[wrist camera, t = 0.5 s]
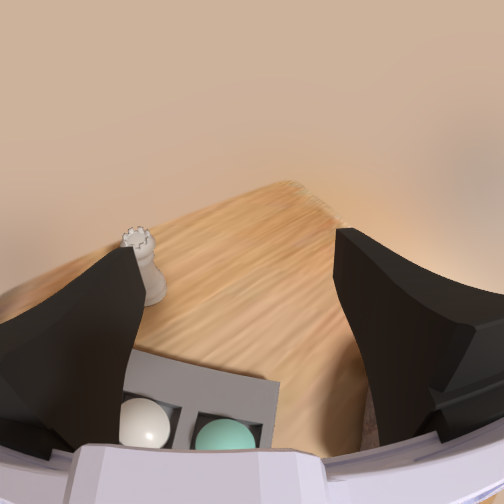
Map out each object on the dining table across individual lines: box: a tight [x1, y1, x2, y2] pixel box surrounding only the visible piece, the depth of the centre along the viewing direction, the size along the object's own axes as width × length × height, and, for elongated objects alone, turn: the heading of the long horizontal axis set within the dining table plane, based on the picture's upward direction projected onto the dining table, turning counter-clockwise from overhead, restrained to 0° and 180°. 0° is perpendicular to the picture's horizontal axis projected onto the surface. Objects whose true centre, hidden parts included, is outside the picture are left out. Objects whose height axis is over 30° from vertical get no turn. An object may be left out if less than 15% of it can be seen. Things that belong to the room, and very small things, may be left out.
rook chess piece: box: [120, 227, 167, 307], centre depth 30 cm, size 4×4×8 cm
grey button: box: [119, 398, 171, 449], centre depth 21 cm, size 4×4×1 cm
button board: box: [119, 349, 280, 450], centre depth 22 cm, size 13×20×2 cm, turn 81°
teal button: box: [195, 419, 255, 450], centre depth 21 cm, size 4×4×1 cm
